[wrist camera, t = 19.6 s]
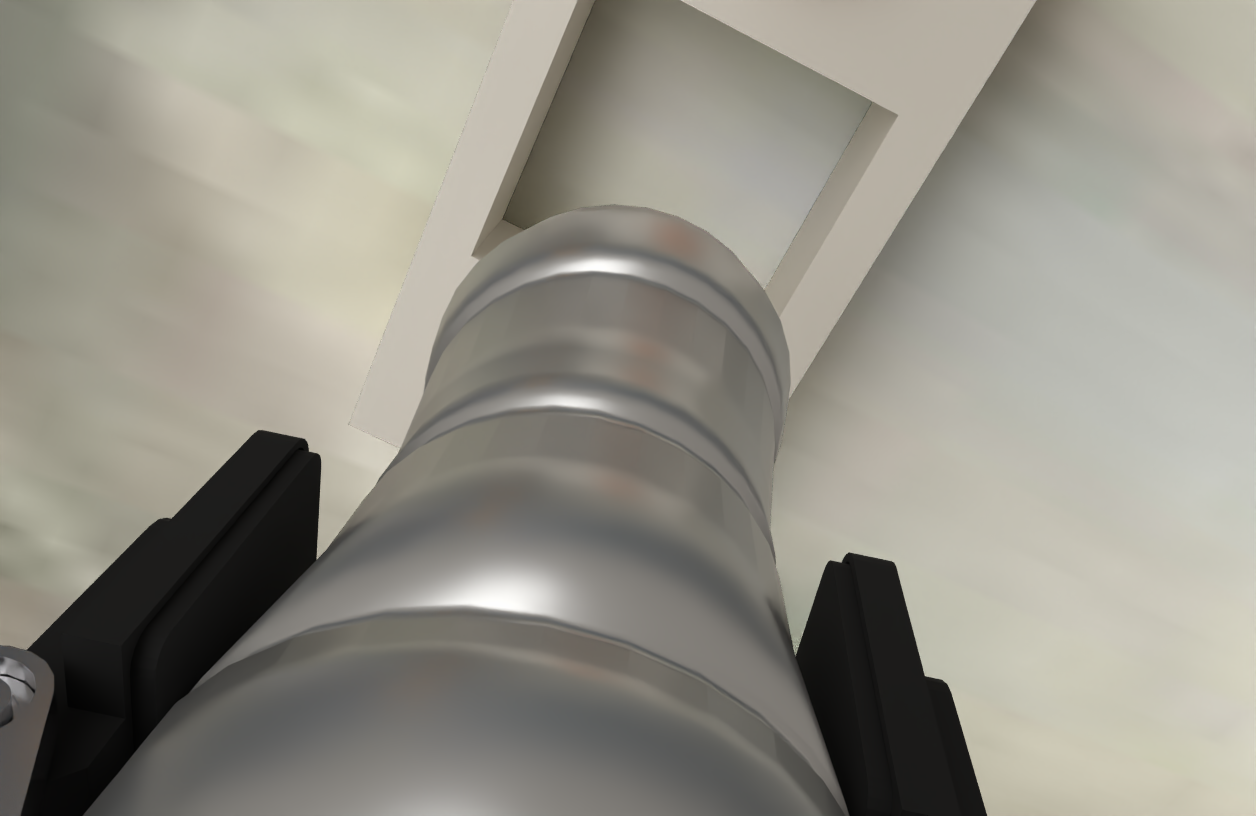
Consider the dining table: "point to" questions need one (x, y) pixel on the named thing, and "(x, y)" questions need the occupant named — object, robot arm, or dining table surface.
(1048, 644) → the dining table surface
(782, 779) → the gray metal bottle
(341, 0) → the dining table surface
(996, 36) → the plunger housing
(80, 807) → the robot arm
